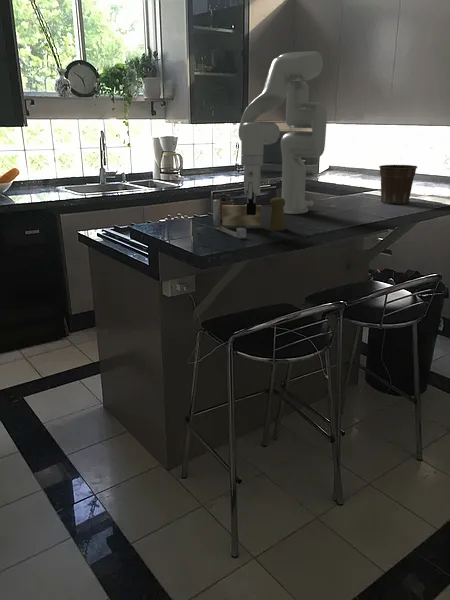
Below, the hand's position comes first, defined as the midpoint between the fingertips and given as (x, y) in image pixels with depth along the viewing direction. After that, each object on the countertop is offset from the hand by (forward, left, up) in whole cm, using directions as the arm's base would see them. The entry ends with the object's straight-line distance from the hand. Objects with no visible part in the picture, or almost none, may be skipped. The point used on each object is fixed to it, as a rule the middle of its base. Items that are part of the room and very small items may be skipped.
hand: (251, 214), depth 180 cm
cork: (-9, +3, -6) cm, 11 cm away
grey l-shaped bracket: (+9, 0, -5) cm, 11 cm away
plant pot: (-86, -16, -6) cm, 87 cm away
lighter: (0, -21, -6) cm, 21 cm away
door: (+1, -5, -4) cm, 7 cm away
